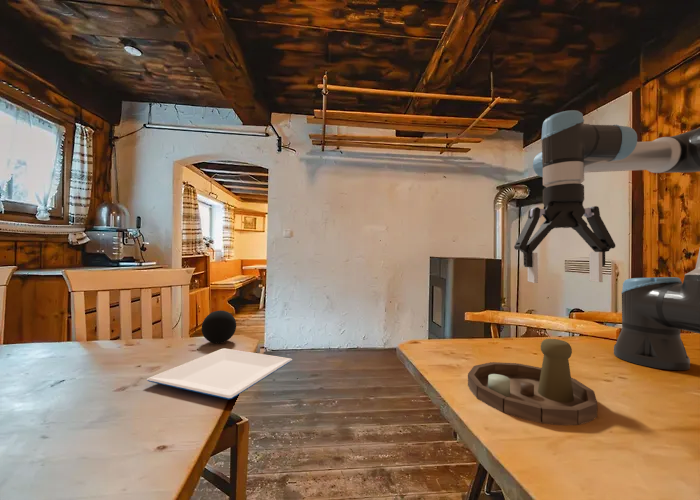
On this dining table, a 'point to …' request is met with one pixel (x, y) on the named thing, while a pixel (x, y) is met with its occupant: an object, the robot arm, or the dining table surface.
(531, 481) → the dining table surface
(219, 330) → the decorative ball
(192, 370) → the plate
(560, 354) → the olive green knobbed peg
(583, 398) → the tray
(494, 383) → the pale beige rounded lump
